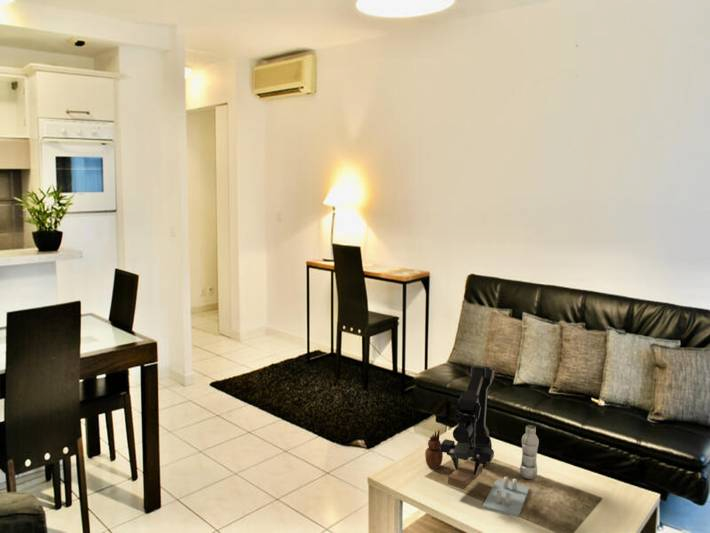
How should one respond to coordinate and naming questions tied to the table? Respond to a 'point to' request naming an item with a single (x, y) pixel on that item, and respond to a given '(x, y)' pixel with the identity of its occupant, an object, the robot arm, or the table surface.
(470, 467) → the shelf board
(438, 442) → the wooden figurine
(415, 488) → the table surface
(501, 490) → the peg stand
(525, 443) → the plastic bottle
